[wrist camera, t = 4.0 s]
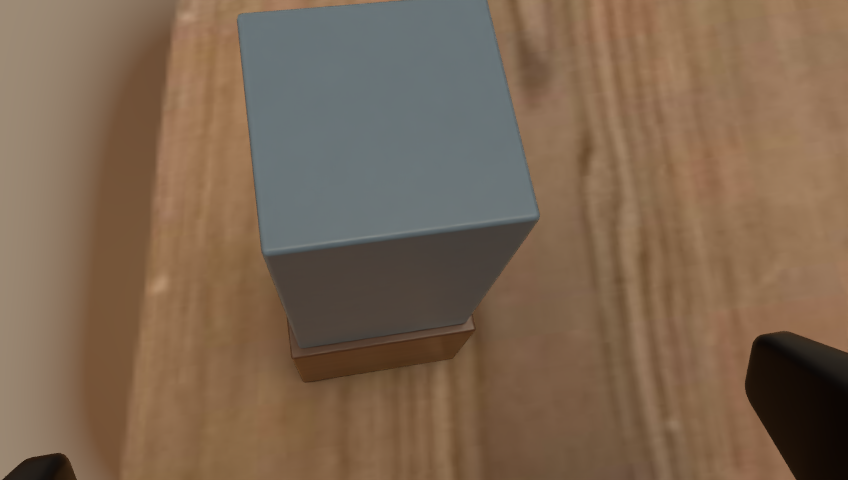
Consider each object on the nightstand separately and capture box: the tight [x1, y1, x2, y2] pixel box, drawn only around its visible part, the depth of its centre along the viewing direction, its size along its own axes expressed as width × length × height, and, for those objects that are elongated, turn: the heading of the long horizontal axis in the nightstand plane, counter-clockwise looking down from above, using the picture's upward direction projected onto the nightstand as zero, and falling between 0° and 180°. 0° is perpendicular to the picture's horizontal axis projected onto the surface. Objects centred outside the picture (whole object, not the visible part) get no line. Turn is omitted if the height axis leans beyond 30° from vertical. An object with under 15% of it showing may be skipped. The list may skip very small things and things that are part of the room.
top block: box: [237, 0, 540, 348], centre depth 13 cm, size 4×4×7 cm
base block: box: [287, 314, 476, 382], centre depth 19 cm, size 4×4×4 cm
